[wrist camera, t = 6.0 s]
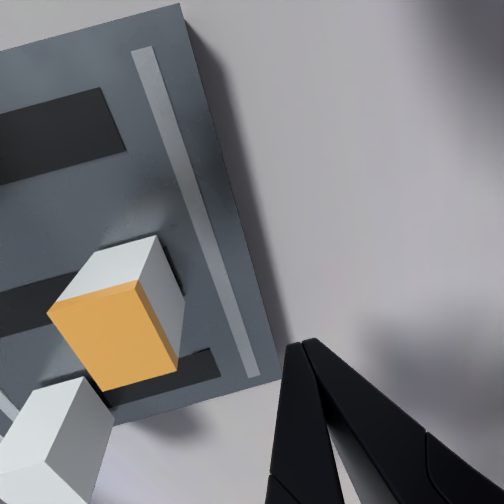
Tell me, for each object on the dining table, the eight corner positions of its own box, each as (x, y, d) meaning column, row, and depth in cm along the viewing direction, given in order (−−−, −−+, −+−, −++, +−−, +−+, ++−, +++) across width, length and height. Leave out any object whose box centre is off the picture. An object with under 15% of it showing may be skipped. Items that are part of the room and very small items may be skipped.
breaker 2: (156, 235, 14) (134, 288, 10) (185, 301, 16) (176, 370, 12) (94, 252, 14) (46, 313, 10) (130, 317, 16) (102, 391, 12)
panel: (183, 17, 12) (178, 2, 11) (277, 355, 21) (284, 379, 20) (-240, 132, 12) (-321, 137, 10) (35, 423, 21) (18, 454, 19)
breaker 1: (83, 376, 17) (44, 461, 13) (115, 418, 19) (88, 505, 15) (33, 390, 17) (-23, 480, 13) (69, 431, 19) (30, 521, 15)
